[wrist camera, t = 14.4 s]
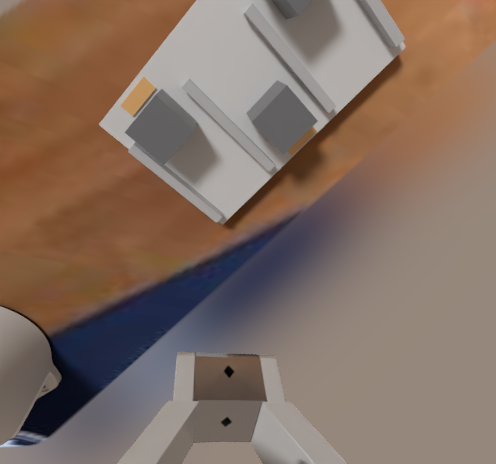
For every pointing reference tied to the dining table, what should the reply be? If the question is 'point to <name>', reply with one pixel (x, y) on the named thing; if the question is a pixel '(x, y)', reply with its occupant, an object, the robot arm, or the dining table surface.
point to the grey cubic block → (281, 116)
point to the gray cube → (162, 127)
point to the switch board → (252, 87)
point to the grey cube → (291, 7)
